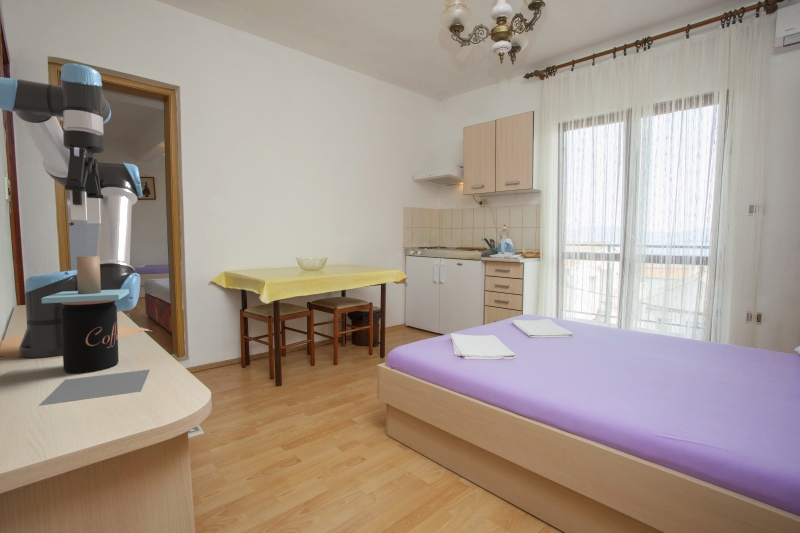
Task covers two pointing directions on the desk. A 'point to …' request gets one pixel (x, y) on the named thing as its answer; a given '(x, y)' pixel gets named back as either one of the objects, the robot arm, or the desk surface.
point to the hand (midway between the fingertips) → (86, 222)
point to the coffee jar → (89, 336)
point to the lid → (87, 285)
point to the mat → (97, 387)
